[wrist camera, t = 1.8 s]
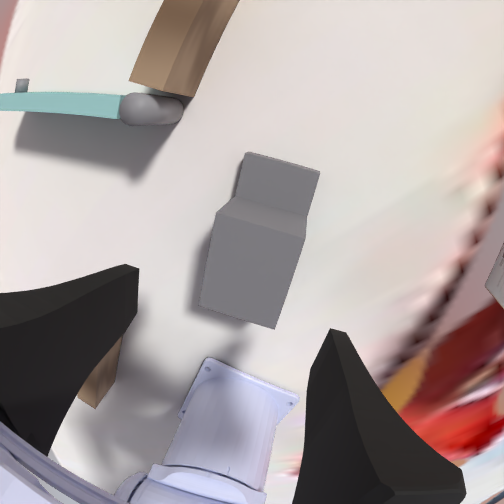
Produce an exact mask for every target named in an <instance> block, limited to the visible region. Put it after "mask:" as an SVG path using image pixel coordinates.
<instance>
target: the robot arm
mask: <svg viewBox="0 0 504 504" xmlns="http://www.w3.org/2000/svg"><path fill="white" fill-rule="evenodd" d="M138 283H139V268H136V267H133V266H130V265H127V264H123V265H119V266H116V267H112V268H109V269H106V270H103V271H100V272H97V273H94V274H91V275H88V276H85V277H82V278H78V279H75V280H71V281H68V282H64V283H61V284H58V285H54V286H49V287H45V288H40V289H34V290H28V291H19V292H10V293H0V504H63V503H62V502H60V501H58V500H57V499H55V498H54V497H53V496H52V495H51V494H50V493H49V492H47V490H46V489H45V488H44V487H43V486H42V485H41V484H40V483H39V481H38V479H37V478H36V477H34V476H33V475H32V474H31V473H30V472H29V471H31V472H32V473H33V474H35V475H36V476H38V477H39V478H41V479H42V480H44V481H45V482H46V483H48V484H49V485H51V486H52V487H54V488H55V489H57V490H58V491H60V492H62V493H63V494H65V495H66V496H68V497H70V498H71V499H73V500H75V501H77V502H78V503H80V504H265V501H266V496H267V494H266V493H263V491H264V486H265V481H266V476H267V471H268V467H269V461H270V456H271V451H272V446H273V441H274V435H275V430H276V425H277V424H278V423H279V422H280V421H281V420H282V419H283V418H284V417H285V416H286V415H287V414H288V413H289V412H290V411H291V410H292V409H293V407H294V406H295V405H296V404H297V403H298V402H299V396H298V395H297V394H295V393H292V392H290V391H287V390H285V389H282V388H280V387H277V386H275V385H272V384H270V383H267V382H265V381H263V380H260V379H258V378H255V377H253V376H251V375H248V374H246V373H244V372H242V371H239V370H237V369H235V368H233V367H230V366H228V365H226V364H224V363H222V362H219V361H217V360H215V359H213V358H206V359H205V361H204V363H203V365H202V367H201V369H200V371H199V373H198V375H197V377H196V379H195V381H194V383H193V385H192V387H191V389H190V391H189V393H188V395H187V397H186V399H185V401H184V403H183V405H182V407H181V409H180V411H179V413H178V417H179V418H180V419H181V420H182V421H181V423H180V425H179V427H178V429H177V432H176V434H175V436H174V438H173V440H172V442H171V445H170V447H169V449H168V451H167V453H166V455H165V458H164V460H163V462H162V464H161V465H158V464H155V463H154V464H153V465H152V467H151V470H150V472H149V474H147V473H144V472H139V473H136V474H135V475H133V476H130V477H128V478H127V479H126V480H125V481H124V482H123V483H122V484H121V485H120V486H119V488H118V489H117V491H116V493H115V494H114V495H112V494H110V493H108V492H106V491H104V490H102V489H100V488H98V487H96V486H94V485H93V484H91V483H89V482H87V481H85V480H84V479H82V478H80V477H78V476H77V475H75V474H73V473H72V472H70V471H68V470H67V469H65V468H63V467H62V466H60V465H59V464H57V463H56V462H54V461H52V460H51V459H49V458H48V457H47V456H48V453H49V451H50V448H51V446H52V444H53V441H54V439H55V436H56V434H57V432H58V430H59V428H60V425H61V423H62V421H63V419H64V417H65V415H66V413H67V411H68V410H69V408H70V406H71V404H72V402H73V401H74V399H75V397H76V395H77V394H78V392H79V390H80V389H81V387H82V386H83V384H84V382H85V381H86V379H87V378H88V376H89V375H90V374H91V372H92V371H93V369H94V368H95V367H96V366H97V365H98V363H99V362H100V361H101V360H102V359H103V357H104V356H105V355H106V354H107V353H108V352H109V350H110V349H111V348H112V347H113V346H114V345H115V343H116V342H117V341H118V340H119V339H120V337H121V336H122V335H123V334H124V332H125V331H126V330H127V328H128V327H129V325H130V323H131V322H132V320H133V319H134V317H135V315H136V314H137V306H138ZM207 367H209V368H207ZM17 461H18V462H19V463H20V464H21V465H20V464H19V463H18V462H17ZM22 465H23V466H24V467H25V468H27V469H28V470H29V471H27V470H26V469H25V468H24V467H23V466H22ZM465 496H466V488H465V483H464V478H463V473H462V470H461V469H460V468H458V467H457V466H455V465H454V464H453V463H451V462H450V461H448V460H447V459H445V458H444V457H443V456H441V455H440V454H439V453H437V452H436V451H435V450H434V449H433V448H431V447H430V446H429V445H428V444H427V443H426V442H424V441H423V440H422V439H421V438H420V437H419V436H418V435H417V434H416V433H415V432H414V431H413V430H412V429H411V428H410V427H409V426H408V425H407V424H406V423H405V422H404V420H403V419H402V418H401V417H400V416H399V415H398V413H397V412H396V411H395V410H394V408H393V407H392V406H391V405H390V403H389V402H388V401H387V399H386V398H385V397H384V395H383V394H382V392H381V391H380V389H379V388H378V386H377V385H376V383H375V382H374V380H373V379H372V377H371V376H370V374H369V372H368V371H367V369H366V367H365V365H364V364H363V362H362V360H361V358H360V357H359V355H358V353H357V351H356V349H355V348H354V346H353V344H352V342H351V340H350V338H349V337H348V335H347V333H346V332H342V331H338V330H335V329H331V328H330V330H329V332H328V334H327V336H326V338H325V340H324V342H323V344H322V346H321V348H320V350H319V353H318V355H317V357H316V359H315V361H314V363H313V365H312V367H311V369H310V375H309V381H308V387H307V396H306V420H305V441H304V451H303V457H302V462H301V467H300V473H299V477H298V482H297V486H296V490H295V495H294V498H293V502H292V504H460V503H461V502H462V501H463V499H464V498H465Z"/></svg>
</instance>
